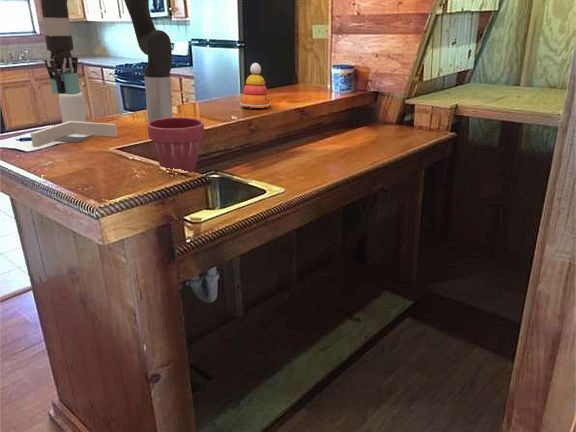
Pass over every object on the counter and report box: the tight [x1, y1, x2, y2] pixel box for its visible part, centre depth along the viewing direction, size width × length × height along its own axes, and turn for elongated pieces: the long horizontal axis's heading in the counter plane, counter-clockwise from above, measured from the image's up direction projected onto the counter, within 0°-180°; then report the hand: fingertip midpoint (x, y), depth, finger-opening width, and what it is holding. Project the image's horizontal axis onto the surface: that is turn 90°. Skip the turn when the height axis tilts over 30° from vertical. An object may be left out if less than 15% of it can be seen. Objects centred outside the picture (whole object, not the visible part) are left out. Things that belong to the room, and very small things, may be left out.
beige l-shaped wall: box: [30, 121, 118, 147], centre depth 160 cm, size 20×17×4 cm
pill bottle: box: [58, 91, 87, 123], centre depth 178 cm, size 8×8×15 cm
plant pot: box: [147, 116, 205, 173], centre depth 132 cm, size 14×14×13 cm
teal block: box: [49, 72, 81, 95], centre depth 155 cm, size 7×4×6 cm, turn 80°
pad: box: [53, 135, 90, 144], centre depth 162 cm, size 6×8×1 cm
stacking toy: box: [239, 62, 272, 107], centre depth 224 cm, size 14×14×20 cm
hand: (66, 92), depth 156 cm, fingers closed on teal block, 4 cm apart
